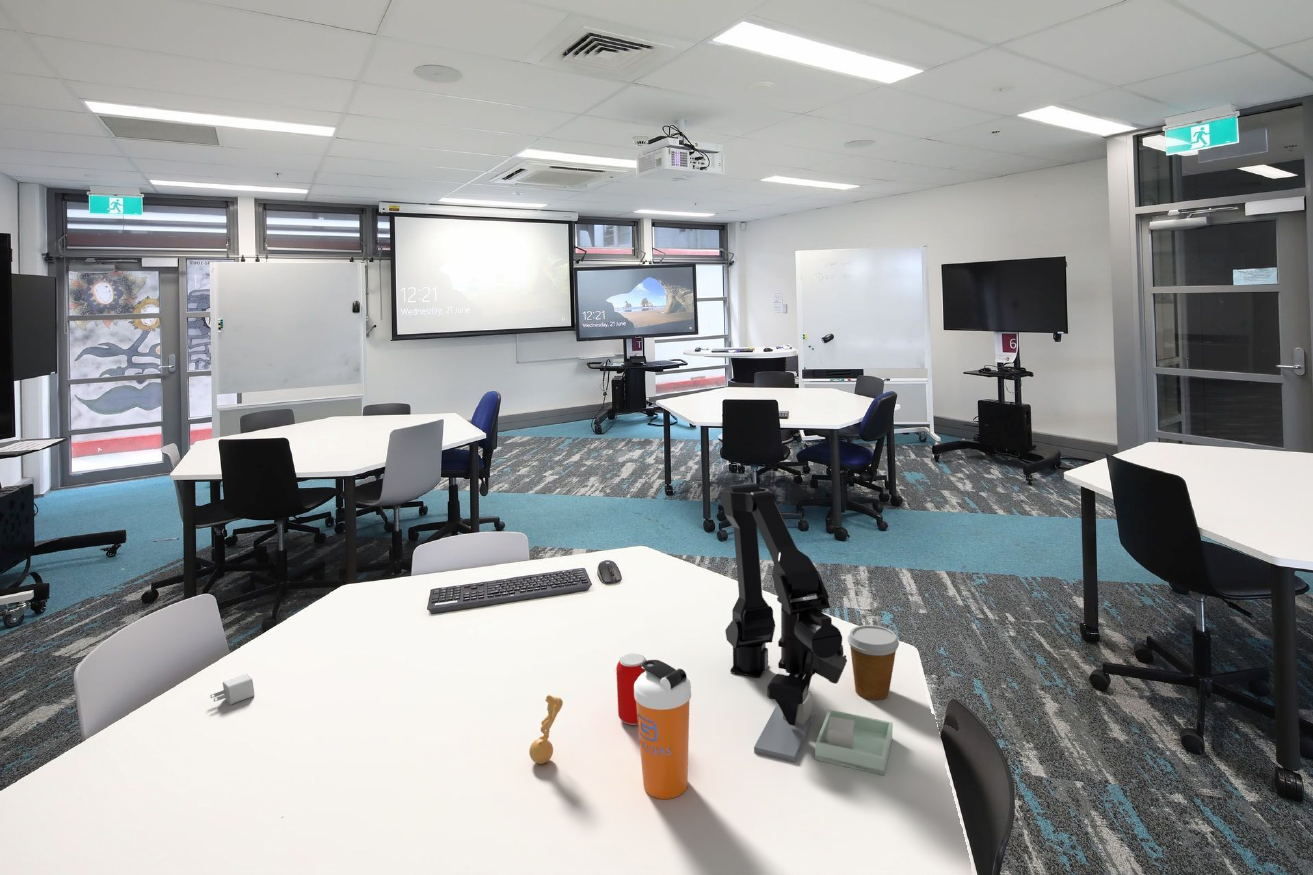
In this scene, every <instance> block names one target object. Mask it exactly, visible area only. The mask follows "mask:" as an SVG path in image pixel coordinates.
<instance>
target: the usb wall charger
mask: <svg viewBox="0 0 1313 875" xmlns="http://www.w3.org/2000/svg"><path fill="white" fill-rule="evenodd" d="M222 688H223V690H220V691H217V692H215V693H212V694H210V696H209V697H210V699H213V702H214V703H215V702H217V701H222V700H224V699H225V700H226V702H227V703H228V704H229V705H233V704H237V703H239V702H240V703H241V701H244V700H248V699H249V698H253V697H255V688H254V682H253V679H252V677H251V676H250V675H249V674H248V673H245V674H241V675H238V676H237V677H234V678H229V679H227V680H225V681H222Z"/></svg>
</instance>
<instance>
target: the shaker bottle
mask: <svg viewBox="0 0 1313 875" xmlns="http://www.w3.org/2000/svg"><path fill="white" fill-rule="evenodd" d="M646 660H647V659H646ZM641 667H642V669H643V670H645V672H644V673H642V674H641V675H640V676H639V677H638V679H637V680H636V682H635V683H634V698H635V700H636V706H637V717H638V725H637V726H638V727H637V728H638V736H639V738H638V739H639V749H640V760H641V761H640V763H641V772H642V782H643V789H644V791H645V792H646V793H647V794H648V795H649V796H651V797H653V798H656V799H661V800H670V799H674V798H677V797H679V796H681V795H682V794H684V793H685V791H686V790H687V788H688V780H689V779H688V775H689V739H690V738H689V737H690V735H689V733H690V732H689V730H690V700H691V697H692V690H691V688H692V686H691V685H692V684H691V680H690V679H689V678H688V675H687V672H686V671H685V670H684V669H683V668H677V669H676V668H674V667H672V666H671V665H669V664H668V663H666V662H664V661H661V660H658V659H648V660H647V661H645V662H643V663H642V666H641Z"/></svg>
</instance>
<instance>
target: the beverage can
mask: <svg viewBox="0 0 1313 875" xmlns="http://www.w3.org/2000/svg"><path fill="white" fill-rule="evenodd" d="M645 661H647V659H646V657H645V656H644V655H643V654H640V653H628V654H624V655H623V656H622V657H620V659H619V660H618V663H617V664H616V667H615V668H616V669H615V672H616V689H617V694H616V696H617V714H618V715H617V716H618V717H619V719H620V721H622V722H623V723H624V724H627V725H631V726H632V725H633V726H638V717H637V706H636V700H635V698H634V683H635V682H636V680H637V679H638V677H639V676H640V675H641V674H642V673H644V672H645V670H643V669H642V667H641V666H642V663H643V662H645Z"/></svg>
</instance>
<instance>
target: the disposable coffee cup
mask: <svg viewBox="0 0 1313 875" xmlns="http://www.w3.org/2000/svg"><path fill="white" fill-rule="evenodd" d="M847 642H848V645H849V646H850V648H849V649H850V655H851V664H852V672H853V680H854V682H853V683H854V690H855V693H856V694H857V695H858V696H860V697H861V698H863V699H866V700H871V701H881V700H885V699H886V698H888V697H889V695H890V690H891V682H892V677H893V670H894V664H895V658H896V653H897V649H898V648H899V644H900V641H899V640H898V638H897V635H896V633H895V632H894V631H892V630H891V629H889V628H887V627H883V626H880V625H873V624H872V625H871V624H866V625H865V624H864V625H858V626H854V627H852V629H850V631H849V635H848V636H847Z"/></svg>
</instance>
